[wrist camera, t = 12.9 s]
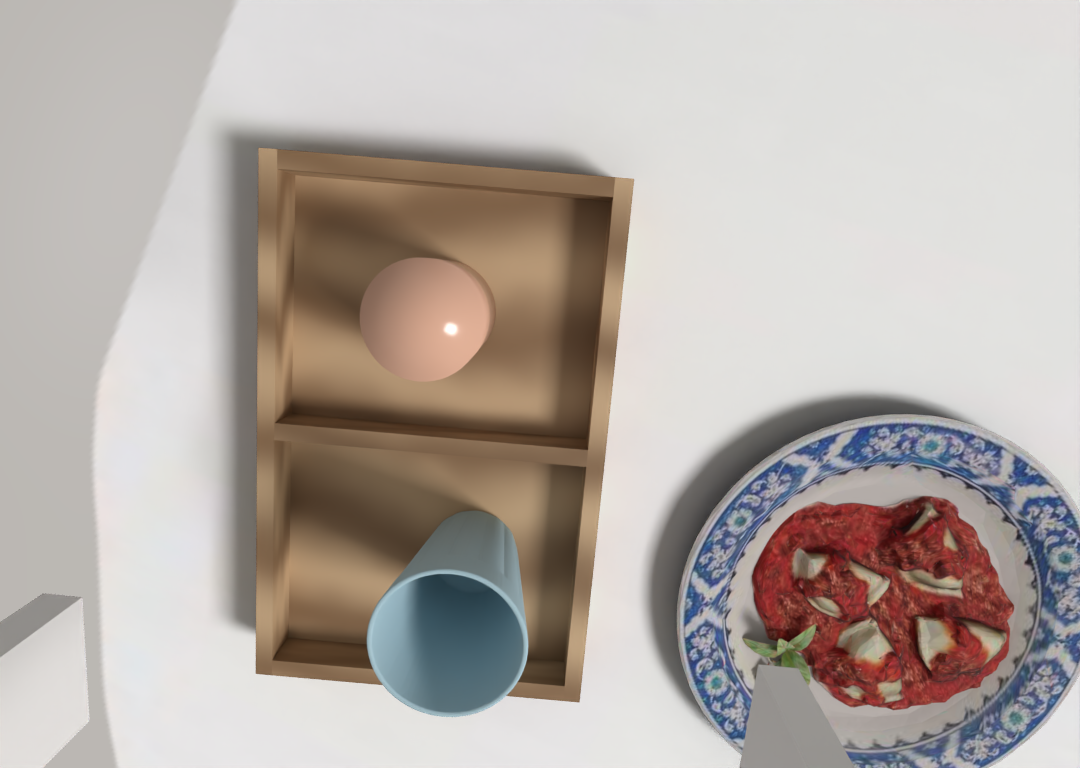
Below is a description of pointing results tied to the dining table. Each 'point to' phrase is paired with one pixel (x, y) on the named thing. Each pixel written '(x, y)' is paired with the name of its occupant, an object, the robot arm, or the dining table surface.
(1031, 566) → the ceramic plate
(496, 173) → the divided wooden tray
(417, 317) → the tan rounded piece
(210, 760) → the dining table surface
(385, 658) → the cup
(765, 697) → the robot arm
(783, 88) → the dining table surface
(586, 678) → the dining table surface
